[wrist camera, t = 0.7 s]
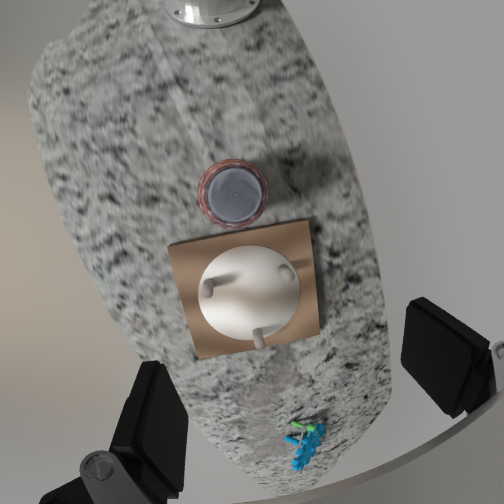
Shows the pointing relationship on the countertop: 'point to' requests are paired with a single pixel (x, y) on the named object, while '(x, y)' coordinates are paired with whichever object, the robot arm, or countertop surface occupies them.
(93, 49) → the countertop surface
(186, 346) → the countertop surface
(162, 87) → the countertop surface
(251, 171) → the supplement bottle
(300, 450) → the gear
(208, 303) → the pin board
